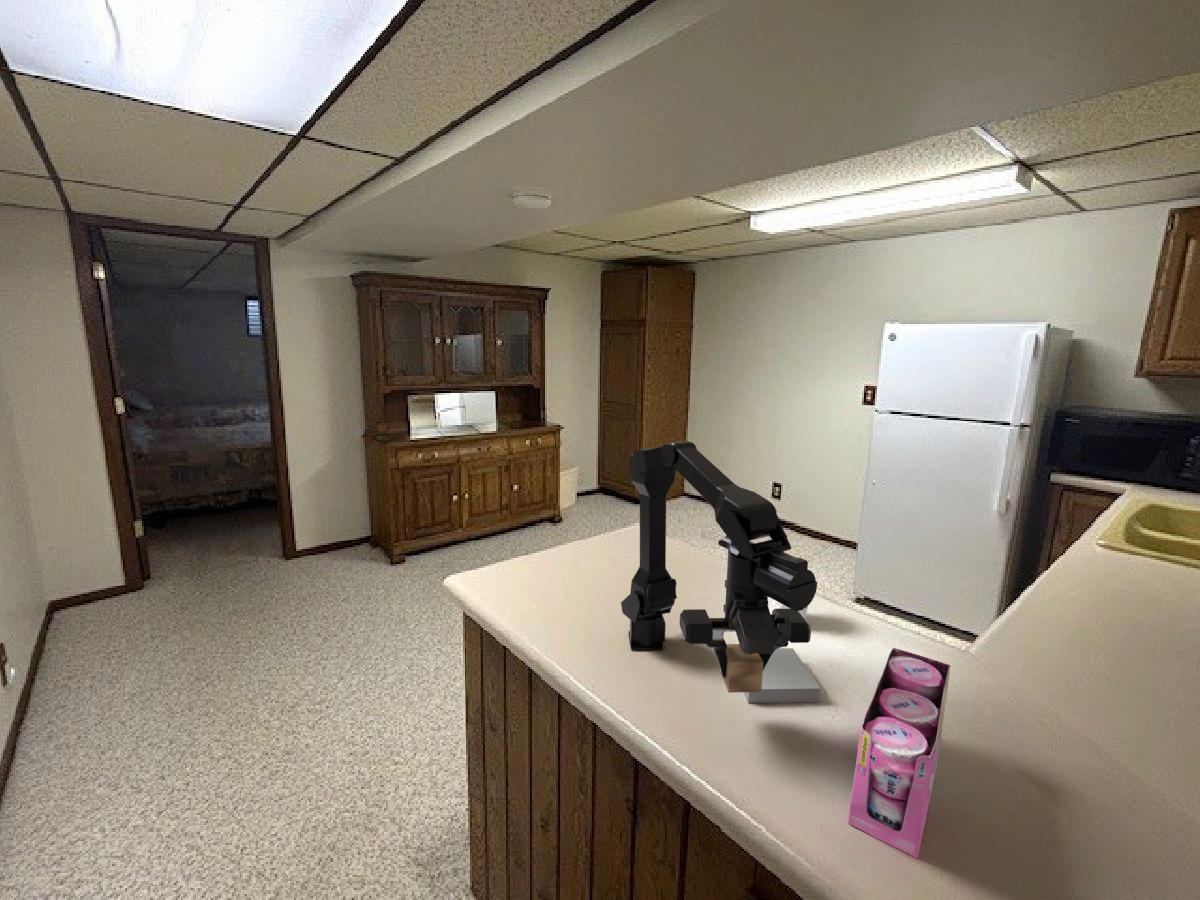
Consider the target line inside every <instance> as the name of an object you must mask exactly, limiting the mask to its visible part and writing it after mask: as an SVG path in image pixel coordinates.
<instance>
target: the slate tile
mask: <svg viewBox="0 0 1200 900" xmlns="http://www.w3.org/2000/svg"><path fill="white" fill-rule="evenodd" d="M821 689H822V688H821V687H820V685H819V684H818V682H817V681H816V680H815V678H814V677H813V675H812V673H811V672H810V670H809V669H808V668H807V666H806V665H805V664H804V662H803V660H802V659H801V658H800V656H799V655H798V654H797V652H796V650H795V649H794V647H793V648H792V647H791V648H787V647H781V648H778V649H776V650H775V651H774V653H773V654H772V655H771V657H770V659H769V660H768V662H767V664H766V666H765V668H764V670H763V675H762V690H761V692H742V693H743V694H744V697H745V699H746V701H747V703H748V704H754V703H757V704H759V703H760V704H763V703H764V704H765V703H767V704H768V703H769V704H770V703H771V704H772V703H819V702H820V699H821V691H822V690H821Z"/></svg>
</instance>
